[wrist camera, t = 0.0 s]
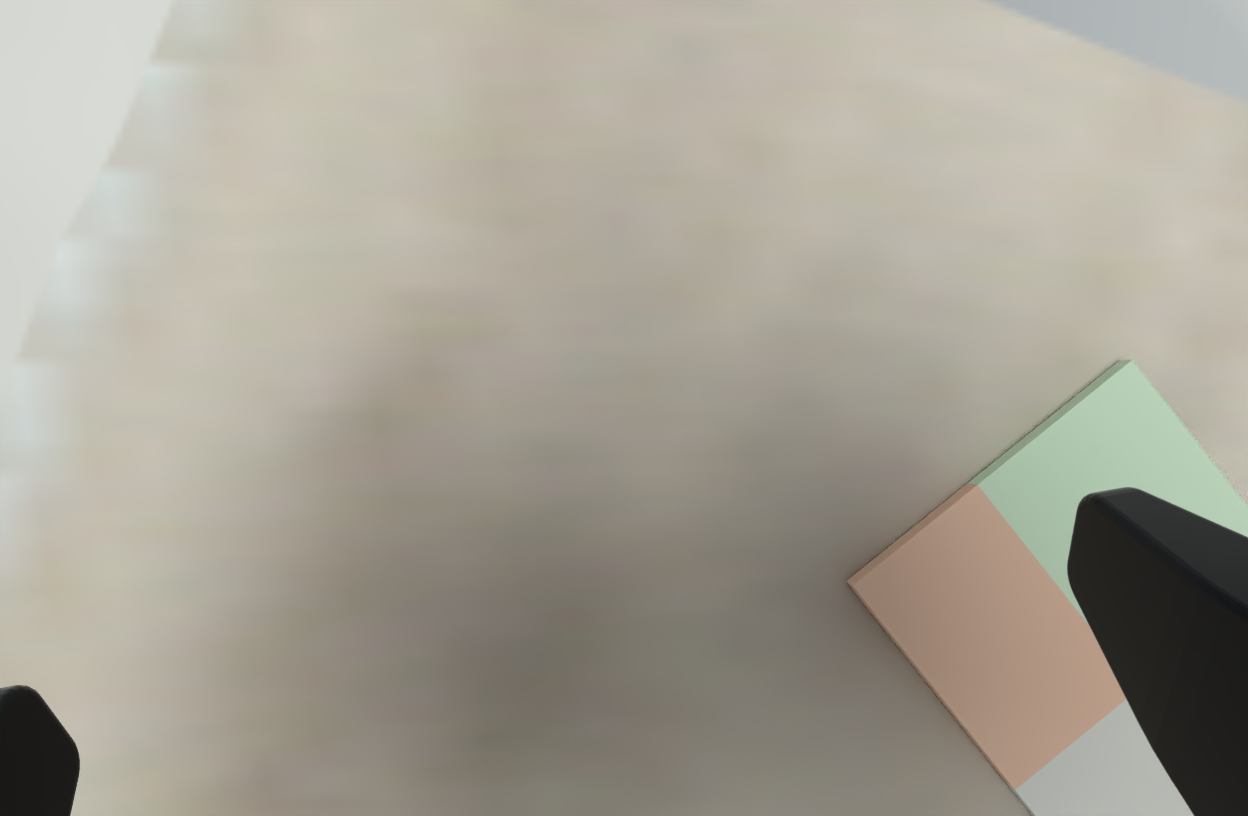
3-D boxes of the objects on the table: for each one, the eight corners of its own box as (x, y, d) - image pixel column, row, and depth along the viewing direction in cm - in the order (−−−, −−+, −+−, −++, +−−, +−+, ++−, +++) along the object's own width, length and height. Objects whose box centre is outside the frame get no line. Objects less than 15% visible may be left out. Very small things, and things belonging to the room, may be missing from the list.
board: (1430, 756, 23) (1453, 765, 22) (1161, 978, 23) (1176, 993, 22) (1118, 360, 23) (1132, 359, 22) (845, 581, 23) (852, 585, 22)
